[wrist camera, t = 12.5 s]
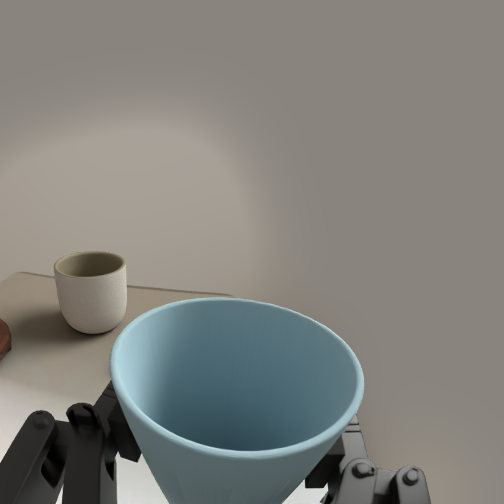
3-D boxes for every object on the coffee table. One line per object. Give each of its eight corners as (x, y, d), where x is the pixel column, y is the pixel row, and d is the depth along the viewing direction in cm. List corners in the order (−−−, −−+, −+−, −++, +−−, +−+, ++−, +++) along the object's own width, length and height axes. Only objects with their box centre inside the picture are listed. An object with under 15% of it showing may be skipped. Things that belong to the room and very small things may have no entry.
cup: (149, 441, 14) (133, 290, 11) (272, 440, 16) (312, 298, 13) (149, 550, 7) (81, 445, 4) (306, 539, 9) (410, 422, 6)
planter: (142, 319, 49) (141, 261, 46) (93, 351, 37) (83, 285, 34) (97, 299, 53) (94, 246, 49) (50, 322, 41) (40, 263, 38)
